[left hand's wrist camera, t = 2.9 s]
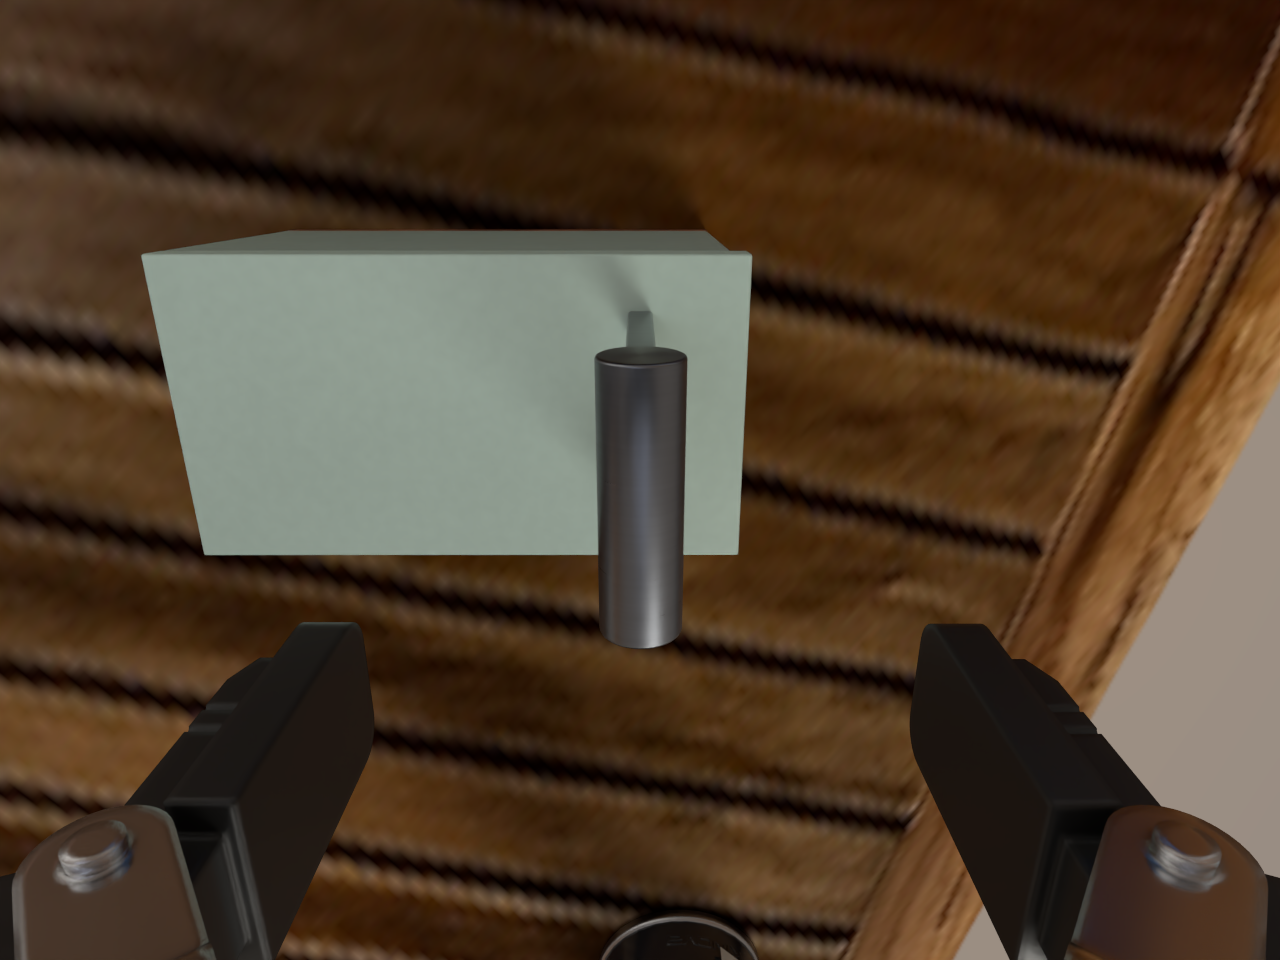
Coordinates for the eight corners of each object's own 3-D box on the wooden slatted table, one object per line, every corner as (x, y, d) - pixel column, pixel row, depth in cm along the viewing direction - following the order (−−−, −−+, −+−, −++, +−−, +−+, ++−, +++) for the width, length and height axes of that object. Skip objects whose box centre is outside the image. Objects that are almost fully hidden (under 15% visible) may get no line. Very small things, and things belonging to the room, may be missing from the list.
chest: (705, 229, 33) (731, 250, 24) (699, 448, 36) (720, 541, 27) (294, 229, 33) (160, 250, 24) (326, 448, 36) (219, 541, 27)
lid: (748, 250, 24) (806, 291, 15) (734, 541, 27) (776, 703, 19) (160, 250, 24) (-97, 291, 15) (219, 542, 27) (34, 703, 19)
